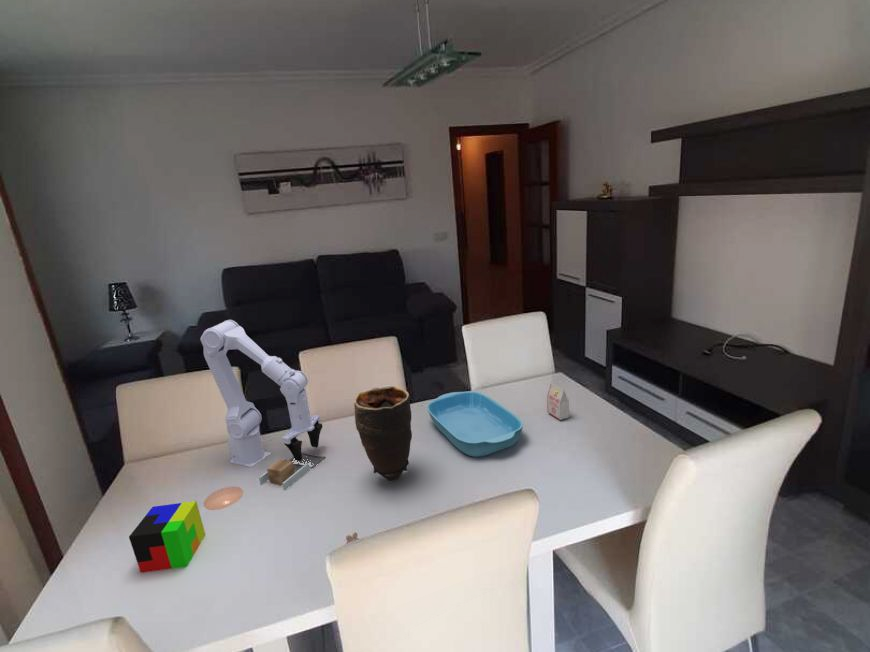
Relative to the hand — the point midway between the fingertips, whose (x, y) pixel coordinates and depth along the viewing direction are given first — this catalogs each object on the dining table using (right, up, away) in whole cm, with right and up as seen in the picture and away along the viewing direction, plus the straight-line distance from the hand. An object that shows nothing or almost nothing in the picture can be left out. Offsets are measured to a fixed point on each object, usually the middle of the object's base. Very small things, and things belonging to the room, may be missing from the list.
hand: (307, 453), depth 139 cm
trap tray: (0, -2, 0) cm, 2 cm away
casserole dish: (+51, +4, +8) cm, 52 cm away
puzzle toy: (-21, -14, -34) cm, 42 cm away
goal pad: (-18, -8, -15) cm, 25 cm away
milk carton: (+80, +9, +14) cm, 82 cm away
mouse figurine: (+22, -12, -41) cm, 49 cm away
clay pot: (+27, -4, -13) cm, 30 cm away
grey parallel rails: (-4, -5, -8) cm, 10 cm away
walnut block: (-4, -5, -9) cm, 11 cm away
